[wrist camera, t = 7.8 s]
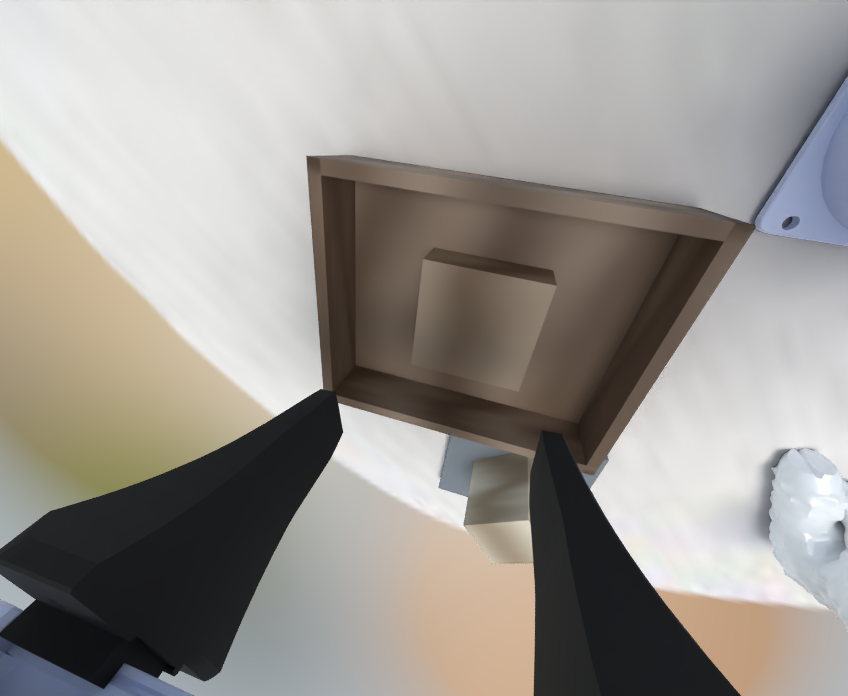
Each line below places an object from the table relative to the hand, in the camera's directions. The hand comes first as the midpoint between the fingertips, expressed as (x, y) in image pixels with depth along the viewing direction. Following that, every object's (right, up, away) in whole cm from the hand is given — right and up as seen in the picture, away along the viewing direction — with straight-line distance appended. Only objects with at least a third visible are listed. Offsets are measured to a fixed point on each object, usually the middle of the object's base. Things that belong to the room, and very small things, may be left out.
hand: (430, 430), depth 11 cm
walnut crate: (+3, +5, +7) cm, 9 cm away
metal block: (+6, -6, +12) cm, 15 cm away
